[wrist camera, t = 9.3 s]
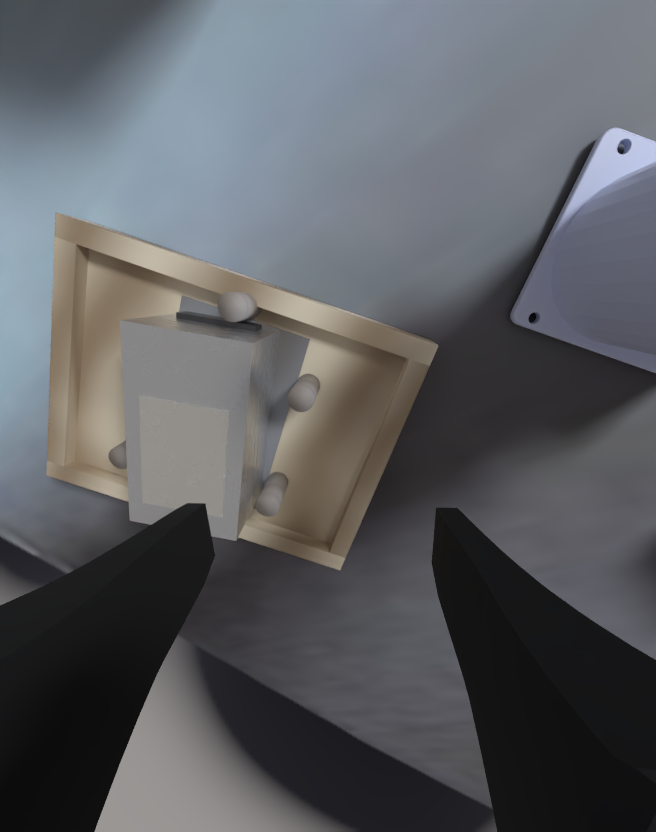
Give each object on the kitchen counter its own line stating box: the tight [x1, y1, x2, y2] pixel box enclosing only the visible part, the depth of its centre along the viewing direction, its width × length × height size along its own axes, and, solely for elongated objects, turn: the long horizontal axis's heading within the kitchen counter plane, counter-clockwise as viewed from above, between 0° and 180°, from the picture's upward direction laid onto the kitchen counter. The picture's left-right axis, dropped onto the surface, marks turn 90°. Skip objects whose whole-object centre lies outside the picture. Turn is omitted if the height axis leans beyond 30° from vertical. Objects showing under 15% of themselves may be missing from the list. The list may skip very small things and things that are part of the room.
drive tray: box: [47, 213, 439, 570], centre depth 18 cm, size 18×14×4 cm
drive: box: [120, 311, 279, 541], centre depth 16 cm, size 5×9×5 cm, turn 171°
